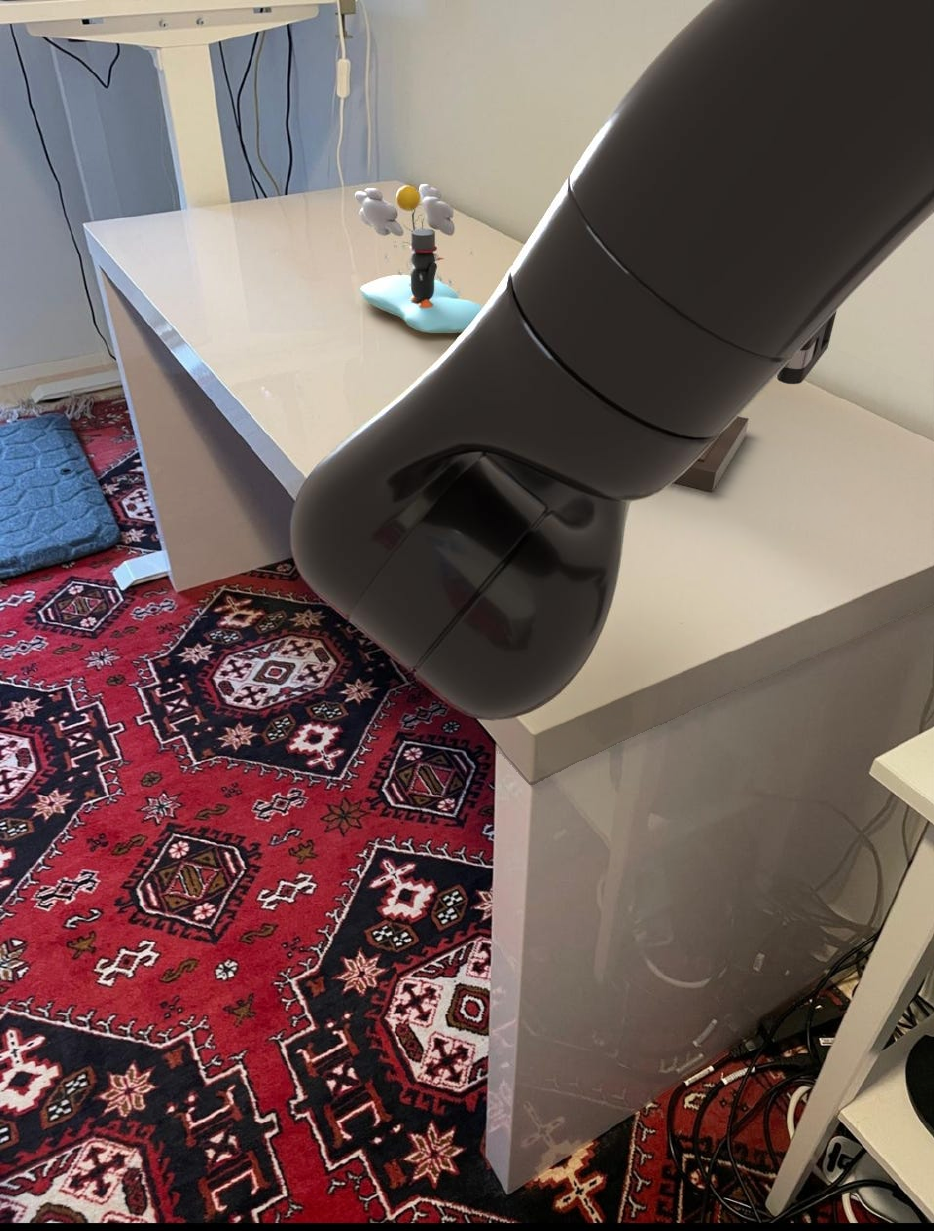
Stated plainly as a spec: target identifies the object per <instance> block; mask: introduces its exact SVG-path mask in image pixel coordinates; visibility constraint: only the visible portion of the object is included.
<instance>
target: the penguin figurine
mask: <svg viewBox="0 0 934 1231" xmlns="http://www.w3.org/2000/svg"><path fill="white" fill-rule="evenodd" d="M441 197H442V194H441V191H440V190H439V189H437V188H436V187H433V186H431V185H430V184H427V183H422V184H420V186H419V188H418V190H417V188H415V187H414V186H412V185H409V184H406V185H403V186H401V187H400V188H399V189H398V190H397V192H396V195H395V201H396V204H397V205H398V207H399V208H400V209H401V210H403V211H405V212H412V213H411V223H412V229H410V228H408V227H406V225H404V222H402V224H403V226H404V227H406V230H409V231H411V232H410V242H411V243H410V246H409V249H410V250H411V254H410V258H408V259H409V260H408V259H407V262H406V263H405V265H406V267H405V268H406V269H407V270H410V265H409V264H408V262H409V263H411V265H412V268H411V270H410V275H407V274H402V273H403V272H402V271H401V269H400V268H399V269H397V271H398V273H397V274H396V275H395V274H394V275H389V276H384V277H381V278H378V279H375V280H373V281H370V282H368V283H366V284H364V285H362V286H361V287H360V288H359V290H360V293H361V295H362V297H363V298H364V299H365V300H366V301H367V303H368V304H370V305H372V306H373V307H375V308H377V309H379V310H382V311H384V312H387V313H389V314H390V315H391V314H392V315H394V316H396V317H398V318H400V319H402V320H403V322H404V323H405V324H406V325H407V326H408V327H410V328H411V329H414V330H417V331H420V332H423V333H431V334H460V333H461V334H462V333H463V332H464V331H465V329H466V328H467V327H468V326H469V325H470V324H471V322H472V321H473V320H474V319H475V317H476V316H477V315H478V314H479V312H480V311H481V310H482V309H483V307H484V306H482V305H481V304H479V303H477V302H475V301H471V300H467V299H462V298H459V296H462V294H461V293H462V291H461V290H459V288H457V292H456V291H455V290H454V289H453V288H452V287H451V286H453V284H452V280H451V278H450V279H448V281H449V282H448V284H449V285H447V284H446V283H444V282H443V281H442V275H440V274H439V276H436V275H437V273H436V272H437V268H438V265H437V263H436V262H438V261H440V260H445V258H444V257H440V256H439V255H438V254H437V253H436V252H435V251H437V250H438V247H437V246H436V231H435V230H437V231H440V232H441V233H442V234H444V235H447V236H454V234H455V231H456V228H455V224H454V220H452V219H453V218H454V209H453V208H452V205H451V204H449V203H448V202H445V201H443V200H441ZM354 199H355V200H356V202H357V203H358V204H359V205H360V206H361V209H360V210H359V218H360V219H361V222H363V224H365V225H366V226H369V227H371V228H374V231H375V232H376V233H377V234H378V235H380V236H383V237H386V236H389V235H390V234H392V235H394V236H396V237H402V236H403V235H404V229H403V227H402V225H401V224H400V222H398V221H396V219H397V217H398V210H397V209H396V207H395V206H394V205H393V204H392V203H390V202H388V201H386V200H385V199H384V195H383V193H382V191H381V190H380V189H378V188H373V187H368V188H365V191H359V190H357V191H356V192H355V194H354ZM420 202H422V203H420ZM421 205H422V209H423V211H424V213H421V214H420V216H423V215H424V214H425V217H426V219H425V218H423V219H420V221H421V228H416V225H415V224H416V223H417V221H415V213H416V209H417V208H419V206H421ZM420 216H418V217H417V219H419V218H420ZM424 220H426V223H427V225H428V226H429V228H424ZM430 228H431V229H430ZM406 243H407V244H409V242H407V241H405V242H404V241H402V242H401V245H402V248H403V250H405V249H406V247H405V246H406ZM397 247H398V244H397V241H396V240H395V241H394V248H397ZM468 249H469V252H468V253H469V254H470V255H473V250H472V248H468ZM385 262H386V263H388V262H389V257H388V255H387V254H385ZM435 278H436V279H435ZM437 279H438V280H437Z"/></svg>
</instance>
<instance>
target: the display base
mask: <svg viewBox="0 0 934 1231" xmlns="http://www.w3.org/2000/svg"><path fill="white" fill-rule="evenodd" d="M749 419H750V418H748V417H743V416H740V415H739V416H738V417H737V418H736V419H735V420H734V421H733V422H732V423H731V424H730V425H729V426H728V427H727V428H726V430H724V431H723V432H722V433H721V434H720V436H719V437H718V438H717V439H716V440H715V441H714V442H713V443H712V444H711V445H710V446H709V447H708V448H707V450H706V451H705V452H704V453H703V454H702V455H701V456H700V457H699V458H698V459H697V460H696V461H695V462H694V463H693V464H692V465H691V466H690V467H689V468H688V469H687V470H686V471H685V472H684V473H683V474H682V475H681V476H680V477H679V478H678V479H676V480H675V481H674V482H673V483H672V484H677V485H681V486H686V487H689V488H694V489H697V490H702V491H706V492H711V493H712V492H713V491H714V490H715V488H716V487H717V485H718V483H719V481H720V480H721V478H722V476H723V475H724V473H725V471H726V470H727V468H728V466H729V464H730V463H731V462H732V460H733V458H734V456H735V455H736V453H737V451H738V450H739V448H740V446H741V445H742V443H743V442H744V440H745V438H746V434H747V429H748V424H749Z"/></svg>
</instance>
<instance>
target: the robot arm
mask: <svg viewBox="0 0 934 1231" xmlns="http://www.w3.org/2000/svg"><path fill="white" fill-rule="evenodd" d="M933 214H934V0H712V1H711V2H710V3H708V4H707V5H706V6H705V7H704V8H702V10H701V11H700V12H699V13H698V14H696V16H695V17H694V18H692V19H691V21H689V22H688V23H687V25H686V26H684V28H682V29H681V30H680V31H679V32H678V34H676V35H675V36H674V37H673V39H672V40H671V41H669V43H668V44H667V45H666V46H665V47H664V48H663V49H662V50H661V52H660V53H659V54H658V55H657V56H656V57H655V58H654V60H652V61H651V63H650V64H649V65H648V66H647V67H646V68H645V70H644V71H643V72H642V73H641V74H640V75H639V77H638V78H637V80H636V81H635V82H634V83H633V84H632V86H631V87H630V88H628V90H627V92H626V93H625V94H624V95H623V96H622V98H621V99H620V100H619V102H618V104H617V105H616V106H615V107H614V109H613V110H612V112H611V113H610V114H609V116H608V117H607V119H606V120H605V121H604V123H603V124H602V126H601V127H600V128H599V129H598V131H597V132H596V134H595V136H594V137H593V139H592V141H591V142H589V145H588V147H587V148H586V149H585V151H584V152H583V154H582V155H581V157H580V158H579V160H578V162H577V163H576V165H575V166H574V167H573V169H572V173H571V174H570V175H569V176H568V177H567V179H566V180H565V182H564V184H562V187H561V188H560V190H559V192H558V193H557V195H556V196H555V197H554V199H553V201H552V202H551V204H550V206H549V207H548V208H547V210H546V212H545V213H544V215H543V217H542V218H541V220H540V221H539V223H538V224H537V226H536V228H535V229H534V231H533V232H532V234H531V235H530V237H529V239H528V240H527V242H525V244H524V246H523V248H522V250H521V251H520V252H519V254H518V255H517V257H516V259H515V260H514V262H513V265H511V267H510V268H509V269H508V271H507V272H506V274H505V275H504V277H503V278H502V280H501V282H500V283H499V285H498V286H497V287H496V289H495V291H494V292H493V293H492V295H491V296H490V298H489V299H488V301H487V302H486V303H485V305H484V306H482V307H483V309H482V310H481V311H480V312H479V314H478V315H477V316H476V317H475V319H474V320H473V321H472V322H471V324H470V325H469V326H468V327H467V328H466V329H465V331H464V332H461V334H460V335H459V336H458V337H457V338H456V340H455V341H454V342H453V343H452V344H451V345H450V346H449V347H448V349H447V350H446V351H445V352H444V353H443V354H442V355H441V356H440V357H439V358H438V359H437V360H436V361H435V362H434V363H433V364H432V365H431V366H430V367H429V368H428V369H427V370H426V371H424V373H422V375H420V376H419V377H418V378H417V380H416V381H414V383H412V384H411V385H410V386H409V387H408V388H406V389H405V390H404V391H403V392H402V393H401V394H399V395H398V396H397V397H396V398H394V399H393V400H392V401H391V402H390V403H389V404H387V405H386V406H385V407H383V408H382V409H381V410H380V411H378V412H377V413H376V414H375V415H373V416H372V417H371V418H369V419H368V420H367V421H365V422H364V423H363V424H362V425H360V426H359V427H358V428H356V429H355V430H354V431H353V432H352V433H350V434H349V435H348V436H346V437H345V438H344V439H343V440H341V442H340V443H338V444H337V445H336V446H335V447H334V448H333V449H332V450H330V452H329V453H327V455H326V456H325V457H324V458H323V459H321V460H320V462H318V463H317V464H316V466H315V467H314V468H313V470H312V471H310V473H309V475H308V476H307V477H306V478H305V480H304V482H303V483H302V485H301V487H300V489H299V490H298V493H297V495H296V497H295V500H294V503H293V506H292V509H291V515H290V522H289V543H290V550H291V556H292V559H293V562H294V565H295V568H296V570H297V572H298V574H299V575H300V578H301V579H302V580H303V581H304V582H305V584H306V585H307V586H308V587H309V588H310V590H311V591H312V592H313V593H315V594H316V595H317V596H318V597H319V598H320V599H321V600H322V601H323V602H325V604H327V605H328V606H329V607H330V608H332V609H333V610H334V611H335V612H336V613H338V614H339V615H340V616H341V617H343V619H345V620H346V621H349V623H350V624H351V625H353V626H354V627H355V628H356V629H358V631H360V632H361V633H362V634H363V635H364V636H366V637H367V638H368V639H369V640H370V641H372V642H373V643H374V645H376V646H377V647H379V648H380V649H381V650H382V651H383V652H385V653H386V655H387V656H389V657H390V658H391V659H393V660H394V661H395V662H396V663H397V664H399V665H400V666H401V667H402V668H403V669H405V671H407V672H408V673H412V672H413V671H414V670H415V671H414V673H413V677H414V678H415V679H416V680H418V681H419V682H420V683H421V684H422V685H423V686H424V687H426V688H427V689H428V690H429V691H430V692H432V693H433V694H434V695H435V696H437V697H438V698H439V699H440V700H441V701H443V702H444V703H445V704H446V705H448V706H449V707H451V708H452V709H454V710H456V711H458V712H459V713H461V714H463V715H465V716H467V717H470V718H473V719H476V720H483V721H501V720H502V721H503V720H511V719H515V718H517V717H520V716H523V715H528V714H530V713H532V712H534V711H537V710H538V709H540V708H542V707H544V706H545V705H547V704H548V703H550V702H551V701H553V700H554V699H555V698H557V696H559V695H560V694H561V693H562V692H563V691H564V690H565V689H566V688H567V687H568V686H569V685H570V684H571V683H572V681H573V680H574V679H575V678H576V676H577V675H578V674H579V673H580V672H581V671H582V669H583V667H584V666H585V665H586V663H587V662H588V660H589V658H590V656H591V655H592V653H593V651H594V649H595V648H596V646H597V643H598V641H599V639H600V637H601V635H602V632H603V630H604V628H605V625H606V623H607V620H608V618H609V615H610V610H611V608H612V604H613V602H614V597H615V593H616V589H617V586H618V585H617V584H618V579H619V574H620V569H621V562H622V555H623V547H624V539H625V538H624V537H625V530H626V524H627V523H626V522H627V518H628V514H629V509H630V505H631V504H632V502H635V501H641V500H645V499H647V498H650V497H653V496H655V495H657V494H659V493H661V492H662V491H664V490H665V489H667V488H668V487H669V486H671V485H672V484H674V483H673V482H674V481H675V480H676V479H678V478H679V477H680V476H681V475H682V474H683V473H684V472H685V471H686V470H687V469H688V468H689V467H690V466H691V465H692V464H693V463H694V462H695V461H696V460H697V459H698V458H699V457H700V456H701V455H702V454H703V453H704V452H705V451H706V450H707V448H708V447H709V446H710V445H711V444H712V443H713V442H714V441H715V440H716V439H717V438H718V437H719V436H720V434H721V433H722V432H723V431H724V430H726V428H727V427H728V426H729V425H730V424H731V423H732V422H733V421H734V420H735V419H736V418H737V417H738V416H739V417H740V415H741V414H742V412H744V411H745V410H746V408H747V407H748V406H749V405H750V404H751V403H752V402H753V401H754V400H755V399H756V398H757V396H759V394H761V393H762V391H763V390H764V389H765V388H766V387H767V386H768V385H769V384H770V383H771V382H772V381H773V380H774V378H775V377H776V379H777V380H778V382H781V383H783V384H787V385H799V384H802V383H803V382H804V380H806V377H808V375H809V374H810V372H811V371H812V370H813V369H814V367H815V366H816V364H817V363H818V361H819V360H820V359H821V358H822V357H823V355H824V353H826V351H827V350H828V348H829V344H830V340H831V336H832V332H833V327H834V324H835V320H836V315H837V312H838V310H839V308H840V307H841V306H842V305H843V304H844V303H845V302H846V301H847V300H848V298H850V297H851V295H853V293H854V292H856V290H857V289H858V288H860V286H861V285H862V284H863V283H864V282H865V281H866V280H867V279H869V277H870V276H871V275H872V274H873V273H874V272H875V271H876V270H878V268H879V267H880V266H881V265H882V264H883V263H884V262H885V261H886V260H887V259H888V258H889V257H890V256H891V255H892V254H893V253H894V252H895V251H896V250H897V249H899V247H900V246H902V244H903V243H904V242H905V241H906V240H907V239H908V238H909V237H910V236H911V235H912V234H913V233H914V232H915V231H916V230H917V229H919V227H920V226H922V224H923V223H925V222H926V221H927V220H928V219H929V218H930V217H932V215H933Z"/></svg>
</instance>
